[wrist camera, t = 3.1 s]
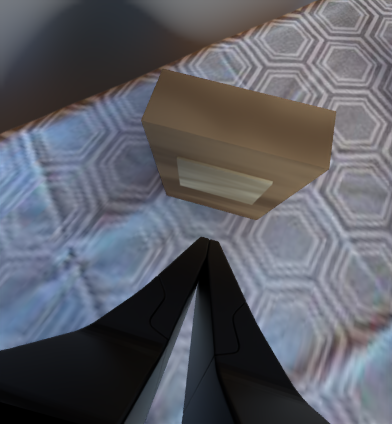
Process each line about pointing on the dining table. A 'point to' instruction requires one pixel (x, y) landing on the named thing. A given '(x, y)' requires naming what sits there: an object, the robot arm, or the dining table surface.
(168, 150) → the cardboard box
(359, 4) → the dining table surface
